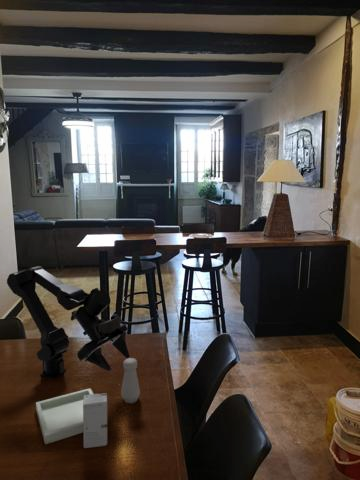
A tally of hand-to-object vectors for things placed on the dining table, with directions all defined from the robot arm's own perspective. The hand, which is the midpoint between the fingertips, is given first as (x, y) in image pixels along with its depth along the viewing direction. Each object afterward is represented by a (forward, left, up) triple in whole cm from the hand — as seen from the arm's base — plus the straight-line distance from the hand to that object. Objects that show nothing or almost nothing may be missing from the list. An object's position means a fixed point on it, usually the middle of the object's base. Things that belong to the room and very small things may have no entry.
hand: (119, 363), depth 113 cm
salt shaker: (+4, -1, -11) cm, 12 cm away
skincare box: (+3, -20, -11) cm, 23 cm away
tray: (-9, -14, -11) cm, 20 cm away
